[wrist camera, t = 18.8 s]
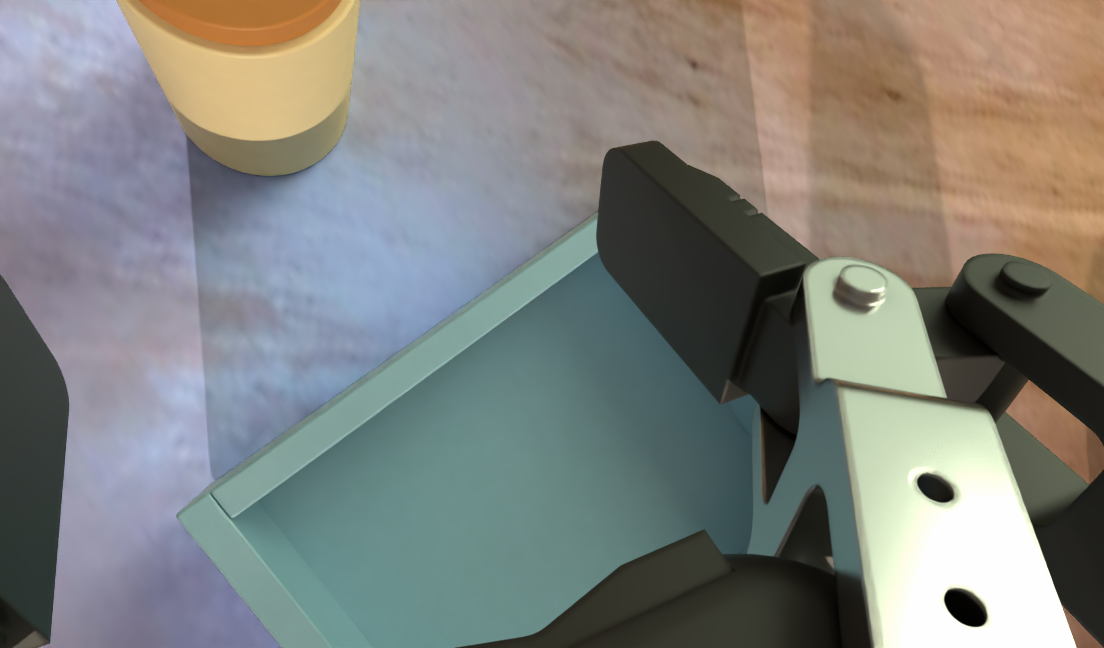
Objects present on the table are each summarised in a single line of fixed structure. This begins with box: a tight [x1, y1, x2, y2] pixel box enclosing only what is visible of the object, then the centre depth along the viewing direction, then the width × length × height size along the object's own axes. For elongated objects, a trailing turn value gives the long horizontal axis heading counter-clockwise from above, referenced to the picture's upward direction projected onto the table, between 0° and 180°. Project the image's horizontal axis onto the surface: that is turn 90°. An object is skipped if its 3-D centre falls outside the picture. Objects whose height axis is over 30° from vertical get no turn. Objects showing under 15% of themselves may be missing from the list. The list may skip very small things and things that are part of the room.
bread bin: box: [176, 212, 757, 648], centre depth 20 cm, size 16×14×5 cm
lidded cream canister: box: [116, 0, 360, 176], centre depth 17 cm, size 5×5×8 cm
